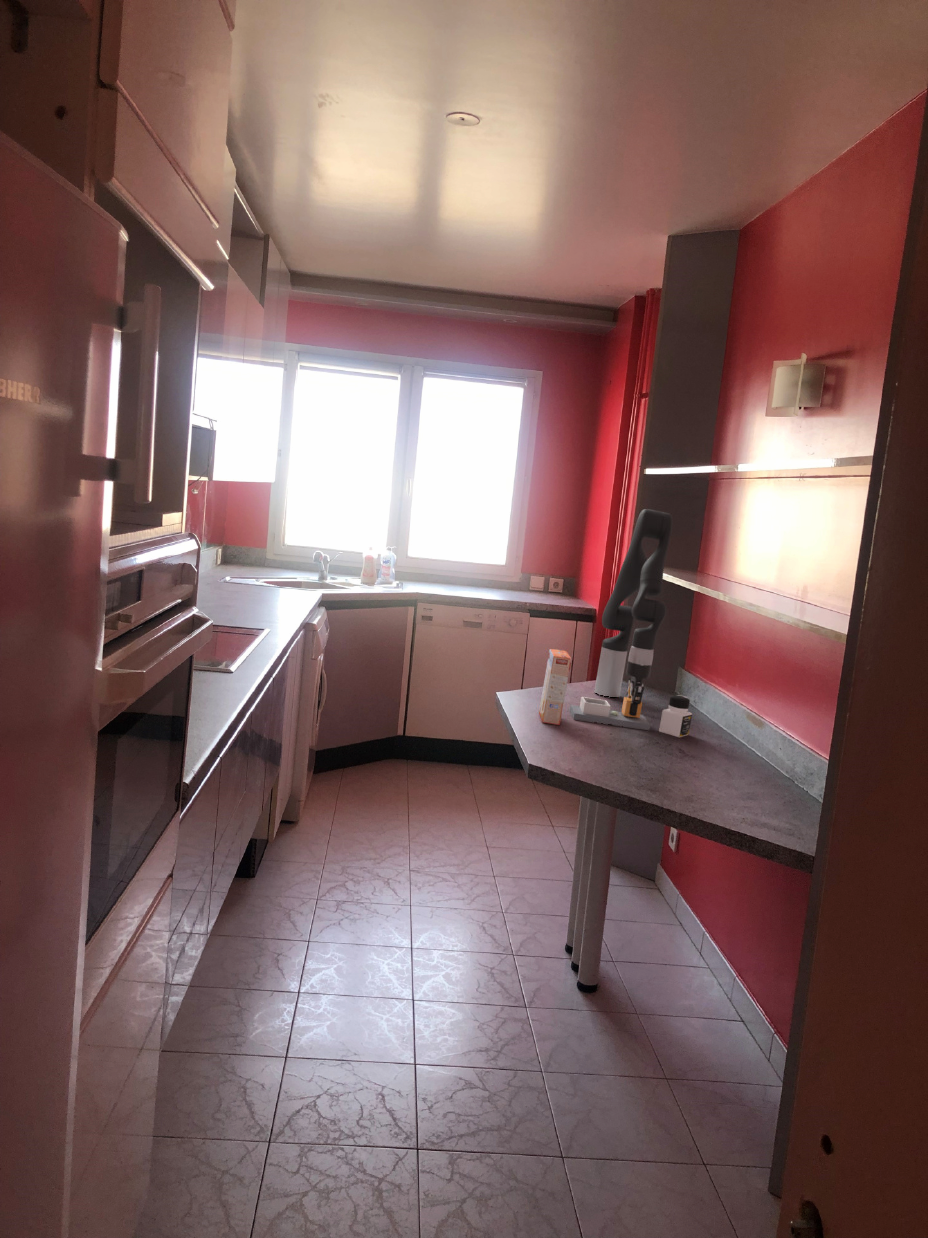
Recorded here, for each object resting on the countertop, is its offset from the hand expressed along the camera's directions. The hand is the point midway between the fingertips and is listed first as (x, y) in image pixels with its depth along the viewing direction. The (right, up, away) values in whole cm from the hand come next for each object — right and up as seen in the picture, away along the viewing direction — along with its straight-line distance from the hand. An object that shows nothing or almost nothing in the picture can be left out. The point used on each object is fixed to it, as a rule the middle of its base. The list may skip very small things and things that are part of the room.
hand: (630, 713), depth 288 cm
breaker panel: (-7, -2, -1) cm, 8 cm away
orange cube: (0, -1, 0) cm, 1 cm away
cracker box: (-27, -1, -11) cm, 29 cm away
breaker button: (-12, +1, -1) cm, 12 cm away
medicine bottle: (+12, -6, -5) cm, 15 cm away
